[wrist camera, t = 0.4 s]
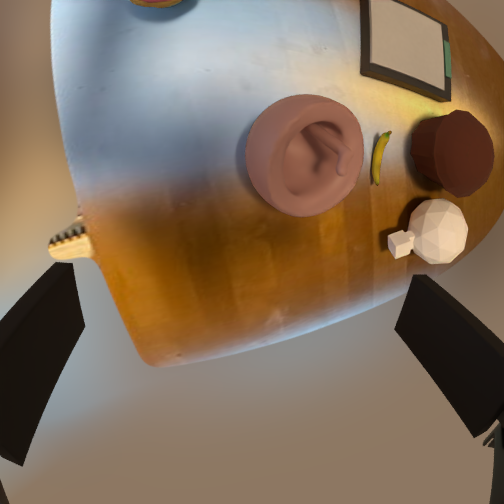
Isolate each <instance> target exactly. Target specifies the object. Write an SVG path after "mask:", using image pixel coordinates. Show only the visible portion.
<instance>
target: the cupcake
mask: <svg viewBox="0 0 504 504" xmlns="http://www.w3.org/2000/svg"><path fill="white" fill-rule="evenodd" d="M130 1H131V2H132V3H134V4H136V5H139V6H144V7H157V8H166V7H171V6H174V5H176V4H178V3H180V2H181V1H182V0H130Z"/></svg>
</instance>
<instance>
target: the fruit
mask: <svg viewBox="0 0 504 504" xmlns="http://www.w3.org/2000/svg"><path fill="white" fill-rule="evenodd" d="M391 133H392V132H391V131H388V132H387V133H383V134H382V135H381V137H380V139H379V141H378V143H377V145H376V147H375V150H374V154H373V160H372V175H373V179H374V181H375V183H376V185H377V186H378V185H379V175H380V166H381V160H382V155H383V151H384V148H385V146H386V144H387V142H388V141H389V135H390V134H391Z"/></svg>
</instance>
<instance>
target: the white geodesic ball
mask: <svg viewBox="0 0 504 504" xmlns="http://www.w3.org/2000/svg"><path fill="white" fill-rule="evenodd" d="M467 232H468V227H467V224H466V222H465V219H464V217H463V214H462V212H461V210H460V209H459V208H458V207H457V206H456V205H454V204H453V203H452V202H450V201H448V200H446V199H444V198H442V199H432V200H425V201H423V202H422V203H421V204H420V205H419V206H418V207H417V208H416V209H415V210H414V211H413V212H412V213H411V217H410V222H409V226H408V231H407V232H404V231H403V230H401V231H398V232H395V233H393V234H390V235H388V248H389V250H390V252H391V253H392V255H393V256H394V258H395V259H397V258H400V257H402V256H405V255H408V254H410V250H411V249H413V251H414V253H415V254H417V255H418V256H420V257H421V258H422V259H424V260H425V261H427V262H428V263H430V264H440V263H450V262H451V261H452V260H453V259H454V258H455V257H456V256H457V255H459V254H460V253H461V252H462V251H463V250H464V247H465V242H466V237H467Z"/></svg>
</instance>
